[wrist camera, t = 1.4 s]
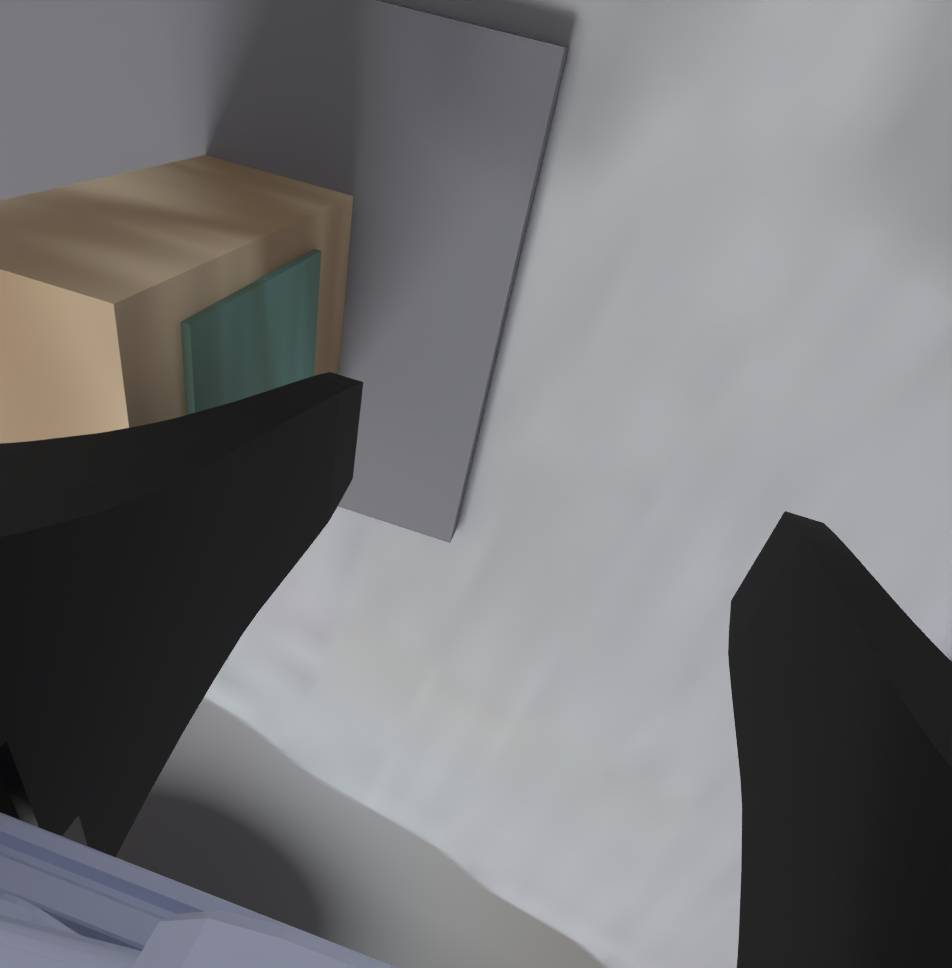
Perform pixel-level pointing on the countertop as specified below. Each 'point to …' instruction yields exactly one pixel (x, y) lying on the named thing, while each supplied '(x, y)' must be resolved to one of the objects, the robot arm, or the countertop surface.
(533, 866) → the countertop surface
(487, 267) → the mat
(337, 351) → the oak block
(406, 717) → the countertop surface
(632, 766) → the countertop surface
